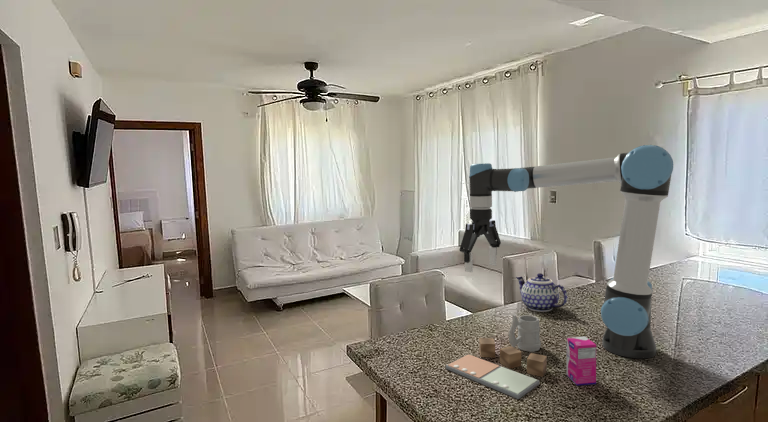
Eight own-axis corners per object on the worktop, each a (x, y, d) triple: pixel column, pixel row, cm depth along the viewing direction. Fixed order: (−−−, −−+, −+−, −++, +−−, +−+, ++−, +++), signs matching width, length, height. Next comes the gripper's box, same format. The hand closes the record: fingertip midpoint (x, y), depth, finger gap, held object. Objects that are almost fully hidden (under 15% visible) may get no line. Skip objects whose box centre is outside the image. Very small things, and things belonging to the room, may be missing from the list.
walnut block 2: (521, 366, 129) (521, 351, 128) (509, 369, 127) (509, 354, 127) (511, 360, 133) (511, 346, 133) (499, 362, 131) (499, 348, 131)
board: (539, 384, 118) (539, 379, 118) (518, 399, 111) (518, 394, 110) (468, 357, 136) (468, 353, 136) (445, 368, 128) (445, 364, 128)
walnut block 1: (493, 351, 139) (493, 338, 139) (495, 357, 135) (495, 344, 135) (479, 351, 140) (479, 338, 140) (480, 357, 136) (480, 343, 135)
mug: (546, 349, 140) (546, 313, 139) (517, 356, 135) (517, 319, 134) (529, 340, 147) (529, 306, 146) (501, 347, 142) (501, 312, 141)
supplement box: (565, 375, 122) (566, 337, 121) (585, 374, 123) (586, 335, 121) (576, 386, 116) (576, 345, 115) (597, 384, 117) (597, 344, 116)
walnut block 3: (546, 370, 126) (546, 356, 125) (543, 377, 122) (543, 362, 121) (530, 367, 128) (530, 352, 128) (526, 373, 124) (527, 358, 124)
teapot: (577, 313, 173) (578, 277, 172) (552, 320, 166) (553, 283, 164) (528, 297, 195) (529, 265, 193) (504, 303, 187) (504, 270, 186)
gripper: (493, 204, 160) (493, 260, 162) (448, 210, 144) (449, 272, 146) (510, 205, 154) (510, 264, 156) (466, 211, 138) (466, 276, 140)
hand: (481, 268), depth 151 cm, fingers open, 13 cm apart
